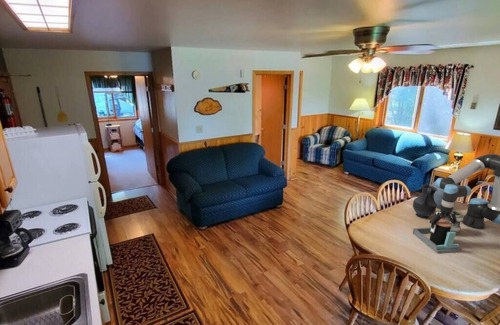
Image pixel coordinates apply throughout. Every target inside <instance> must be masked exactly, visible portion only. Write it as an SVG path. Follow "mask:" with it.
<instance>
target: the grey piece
mask: <svg viewBox="0 0 500 325" xmlns="http://www.w3.org/2000/svg"><path fill="white" fill-rule="evenodd" d="M424 234H431V226H430V227H417V228H414V227H413V230H412V235H414V236H416V238H417V239H419V240H420V241H421V242H422V243H424V244H425V245H426V246H427V247H429V248H430V250H432V251H433V252H434V253H436V254H444V253H445V254H446V253H447V254H448V253H460V252H462V251H463V248H461V247H458V248H456V249H443V250H438V246H437V245H436V244H434V243H433V242H432V241H430V240H429V239H430V238H428V237H427V236H426V235H424Z"/></svg>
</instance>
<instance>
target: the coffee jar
mask: <svg viewBox="0 0 500 325" xmlns="http://www.w3.org/2000/svg"><path fill="white" fill-rule="evenodd" d="M435 225H436V227H435V232H434V233H433V232H432V231H431V233H430V234H429V238H428V239H429V240H430V241H432V242H433V243H434V244H436V245H444V244H445V240H446V237H447V233H448V232H450V229H451V225H452V224H451V223H450V222H449V221H447V220H446V219H445V218H442V219H440V220H439V221H438V222H437V223H436V224H435Z"/></svg>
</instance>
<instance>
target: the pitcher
mask: <svg viewBox="0 0 500 325" xmlns="http://www.w3.org/2000/svg"><path fill="white" fill-rule="evenodd" d="M431 185H432V184H422V185H421V186H420V187H421V189H422V190H421V193H420V194H419V195H418V196H417V197H416V198H414V200H413V201H412V202H413V203H412V208H413V210H414V212H415V216H416V217H417V218H419V219H425V220H426V219H429V216H431V215H433V214H435V212H436V211H437V208H436V207H437V204H436V203H435V201H434V193H435V192H436V191H437V190H438V189H437V188H436V187H435V186H431Z"/></svg>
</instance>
